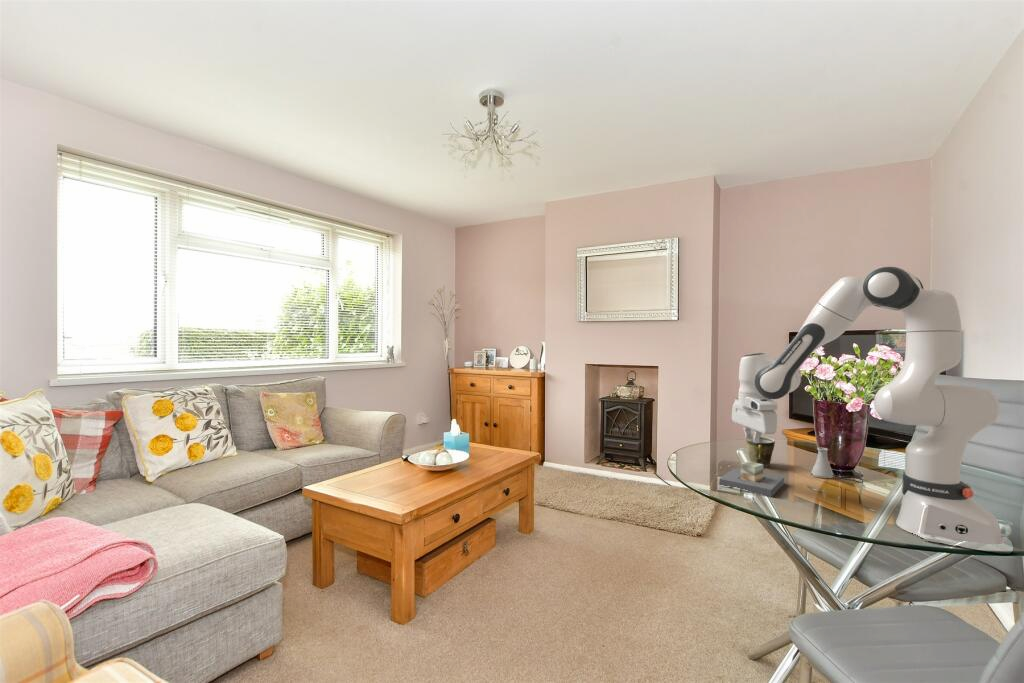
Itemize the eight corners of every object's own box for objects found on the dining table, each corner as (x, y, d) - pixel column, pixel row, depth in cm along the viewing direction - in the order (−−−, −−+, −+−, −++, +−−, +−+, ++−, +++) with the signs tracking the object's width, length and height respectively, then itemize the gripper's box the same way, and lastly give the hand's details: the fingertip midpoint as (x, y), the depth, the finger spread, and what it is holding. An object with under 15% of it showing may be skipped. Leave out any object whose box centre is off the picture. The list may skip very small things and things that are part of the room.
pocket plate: (784, 484, 164) (784, 477, 163) (771, 497, 152) (771, 489, 152) (735, 474, 174) (735, 467, 174) (719, 485, 163) (719, 478, 163)
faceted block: (763, 481, 162) (763, 464, 162) (754, 484, 159) (754, 467, 159) (749, 477, 166) (749, 460, 166) (740, 480, 164) (740, 463, 163)
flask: (809, 471, 176) (810, 444, 176) (833, 474, 173) (834, 447, 172) (810, 477, 170) (811, 449, 170) (835, 480, 166) (835, 452, 166)
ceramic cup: (745, 459, 191) (745, 435, 191) (773, 463, 187) (774, 437, 187) (745, 469, 180) (745, 443, 179) (775, 472, 175) (776, 445, 175)
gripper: (727, 396, 172) (726, 434, 172) (762, 406, 151) (761, 449, 152) (743, 395, 172) (743, 433, 173) (781, 405, 152) (780, 448, 153)
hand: (752, 441), depth 162 cm, fingers open, 2 cm apart
